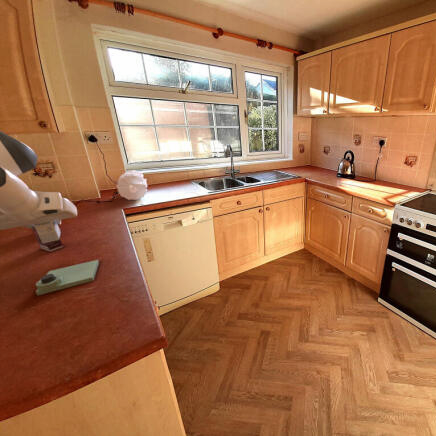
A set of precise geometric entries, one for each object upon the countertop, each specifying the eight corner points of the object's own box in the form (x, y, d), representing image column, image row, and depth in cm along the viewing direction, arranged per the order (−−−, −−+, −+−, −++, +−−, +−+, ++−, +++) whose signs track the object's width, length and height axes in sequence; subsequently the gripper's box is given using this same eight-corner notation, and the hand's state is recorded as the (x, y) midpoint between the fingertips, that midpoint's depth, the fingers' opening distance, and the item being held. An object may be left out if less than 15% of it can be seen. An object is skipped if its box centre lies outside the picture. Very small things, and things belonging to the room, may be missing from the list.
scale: (36, 296, 74) (32, 288, 73) (50, 274, 85) (46, 267, 84) (93, 281, 81) (90, 273, 80) (99, 262, 92) (96, 255, 91)
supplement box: (64, 246, 105) (49, 212, 99) (50, 252, 101) (34, 216, 95) (54, 243, 108) (39, 210, 102) (40, 248, 104) (23, 213, 98)
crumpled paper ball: (130, 207, 164) (131, 196, 184) (153, 193, 168) (152, 184, 188) (108, 186, 154) (111, 177, 173) (134, 171, 158) (134, 163, 177)
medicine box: (45, 236, 87) (34, 214, 84) (61, 232, 90) (51, 210, 86) (42, 244, 82) (30, 220, 78) (60, 239, 84) (49, 216, 81)
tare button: (41, 285, 75) (39, 280, 75) (44, 280, 78) (42, 275, 77) (54, 282, 77) (51, 277, 76) (56, 277, 79) (54, 272, 78)
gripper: (-28, 222, 67) (5, 240, 79) (67, 208, 76) (84, 226, 88) (-28, 203, 69) (5, 223, 81) (65, 191, 78) (82, 211, 90)
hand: (47, 224), depth 84 cm, fingers closed on medicine box, 5 cm apart
